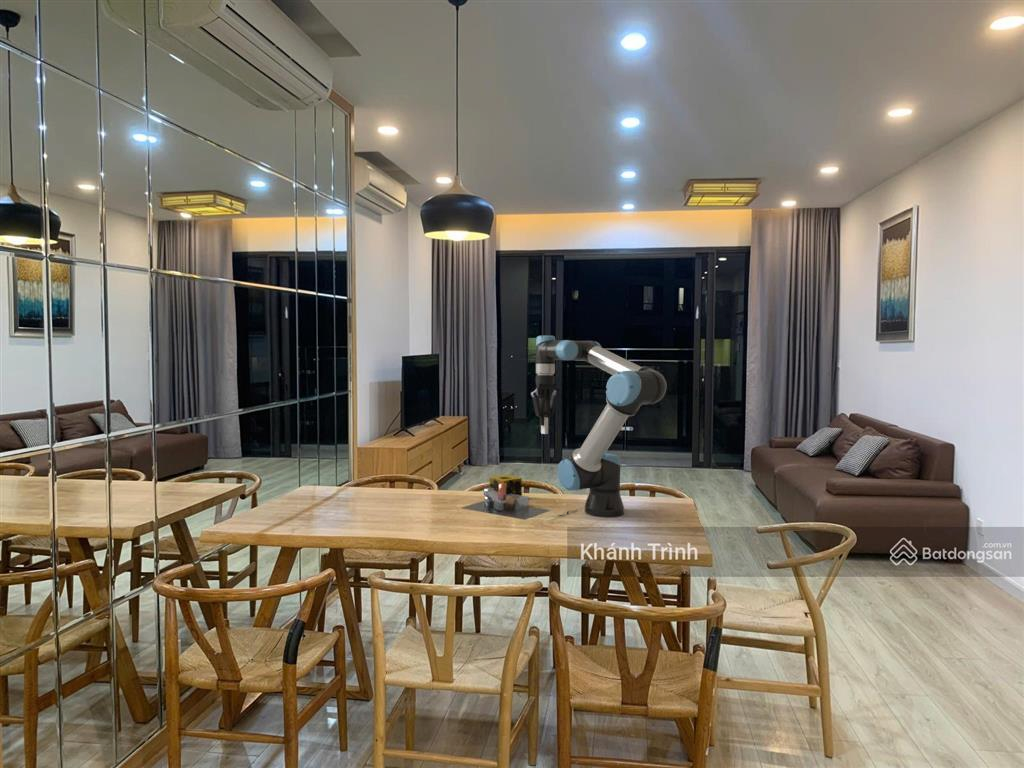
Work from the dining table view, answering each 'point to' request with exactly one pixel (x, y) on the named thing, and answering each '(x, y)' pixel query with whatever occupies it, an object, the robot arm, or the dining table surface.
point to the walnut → (510, 502)
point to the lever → (497, 495)
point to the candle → (507, 484)
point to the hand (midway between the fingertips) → (544, 433)
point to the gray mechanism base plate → (519, 512)
